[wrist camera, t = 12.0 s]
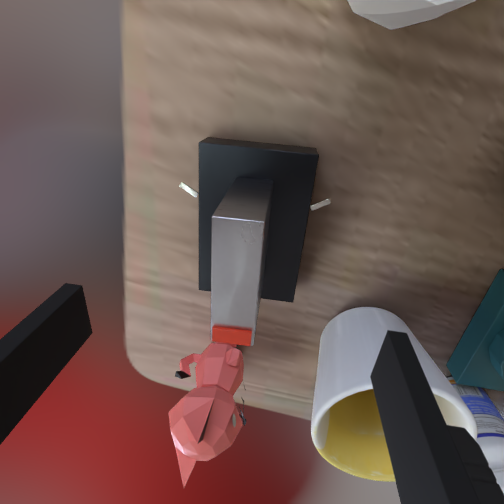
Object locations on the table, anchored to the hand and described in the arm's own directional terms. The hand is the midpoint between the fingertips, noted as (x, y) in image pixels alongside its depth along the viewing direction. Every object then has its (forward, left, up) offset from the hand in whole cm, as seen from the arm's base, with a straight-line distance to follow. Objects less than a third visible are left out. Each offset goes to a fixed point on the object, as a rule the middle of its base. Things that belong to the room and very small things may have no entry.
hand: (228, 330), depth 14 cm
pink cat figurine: (+10, +10, -14) cm, 20 cm away
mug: (-2, +16, -14) cm, 21 cm away
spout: (0, 0, -11) cm, 11 cm away
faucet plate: (0, 0, -14) cm, 14 cm away
